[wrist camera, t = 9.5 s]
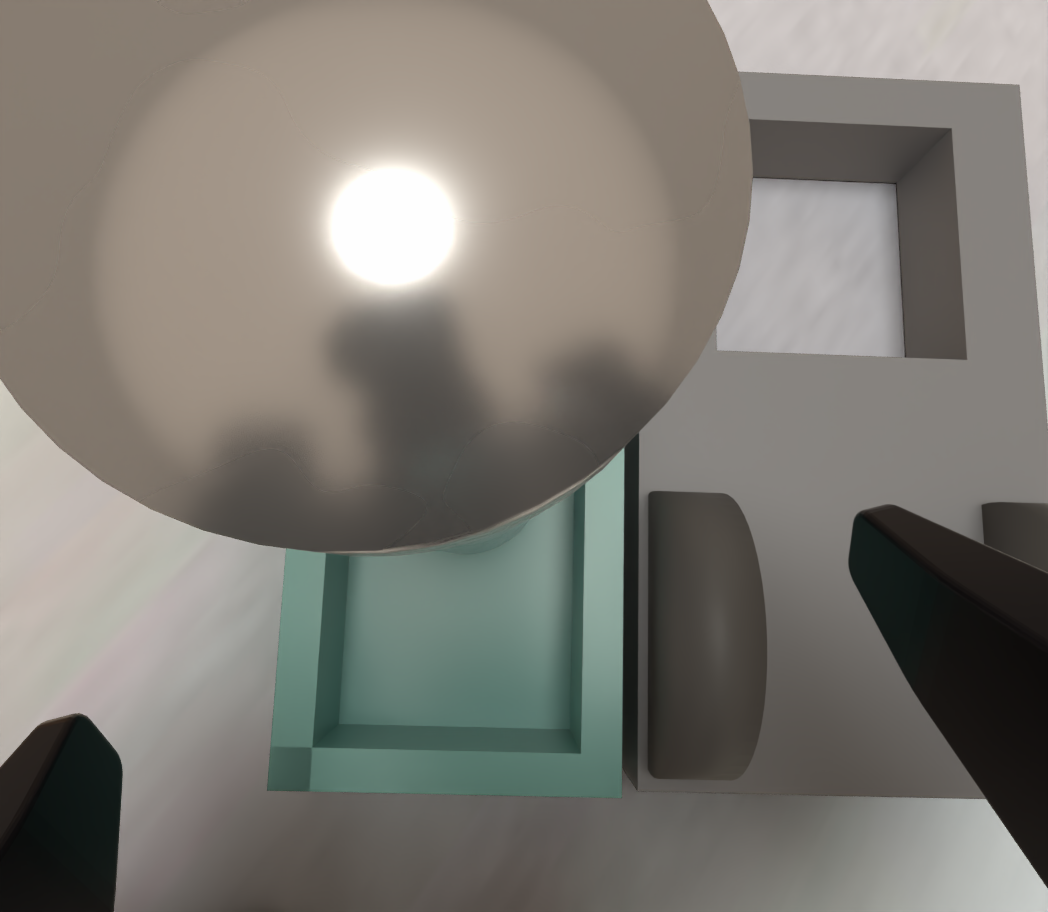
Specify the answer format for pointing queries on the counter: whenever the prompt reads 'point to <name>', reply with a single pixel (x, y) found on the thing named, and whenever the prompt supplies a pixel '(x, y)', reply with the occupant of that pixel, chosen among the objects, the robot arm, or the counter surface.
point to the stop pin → (362, 251)
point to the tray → (460, 663)
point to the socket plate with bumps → (837, 465)
